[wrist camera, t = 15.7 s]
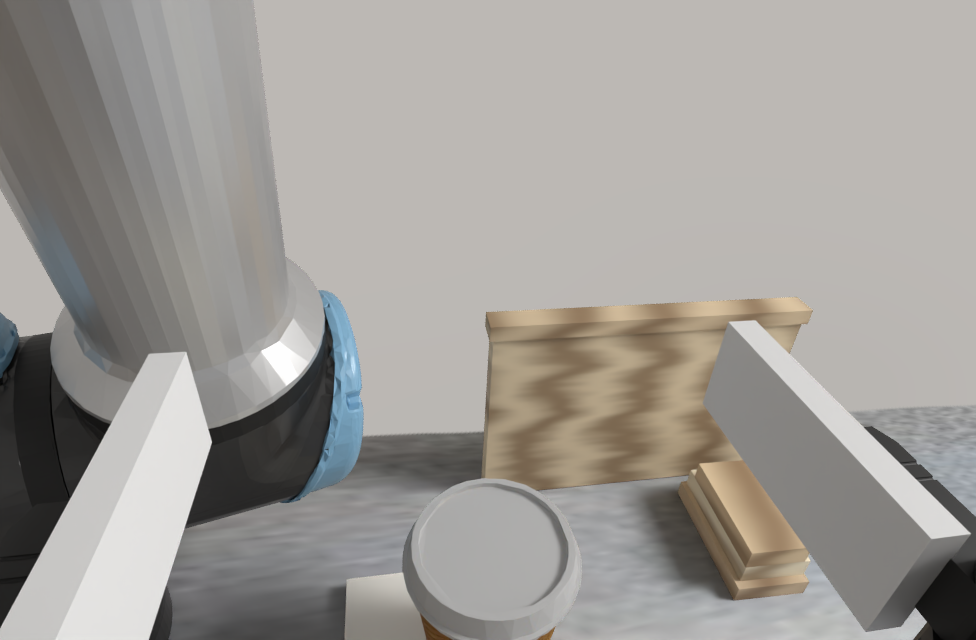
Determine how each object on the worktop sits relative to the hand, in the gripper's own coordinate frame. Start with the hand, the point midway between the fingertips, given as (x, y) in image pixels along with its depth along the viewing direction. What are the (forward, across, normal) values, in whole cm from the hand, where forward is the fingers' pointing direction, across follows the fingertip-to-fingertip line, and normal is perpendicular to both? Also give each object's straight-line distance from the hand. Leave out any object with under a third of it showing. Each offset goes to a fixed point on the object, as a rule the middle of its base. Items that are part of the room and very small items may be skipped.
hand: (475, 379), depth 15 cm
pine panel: (+22, +17, -30) cm, 41 cm away
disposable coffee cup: (+8, +3, -29) cm, 30 cm away
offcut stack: (+15, +24, -30) cm, 42 cm away
